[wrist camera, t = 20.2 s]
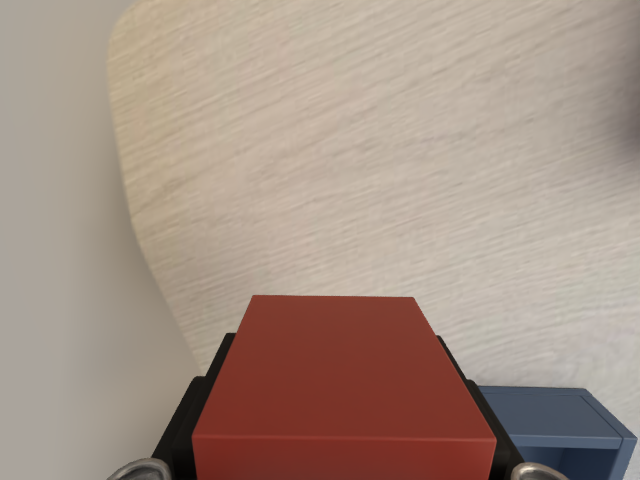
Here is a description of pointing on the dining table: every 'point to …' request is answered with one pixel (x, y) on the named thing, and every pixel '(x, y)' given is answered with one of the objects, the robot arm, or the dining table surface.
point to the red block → (339, 397)
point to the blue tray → (563, 430)
